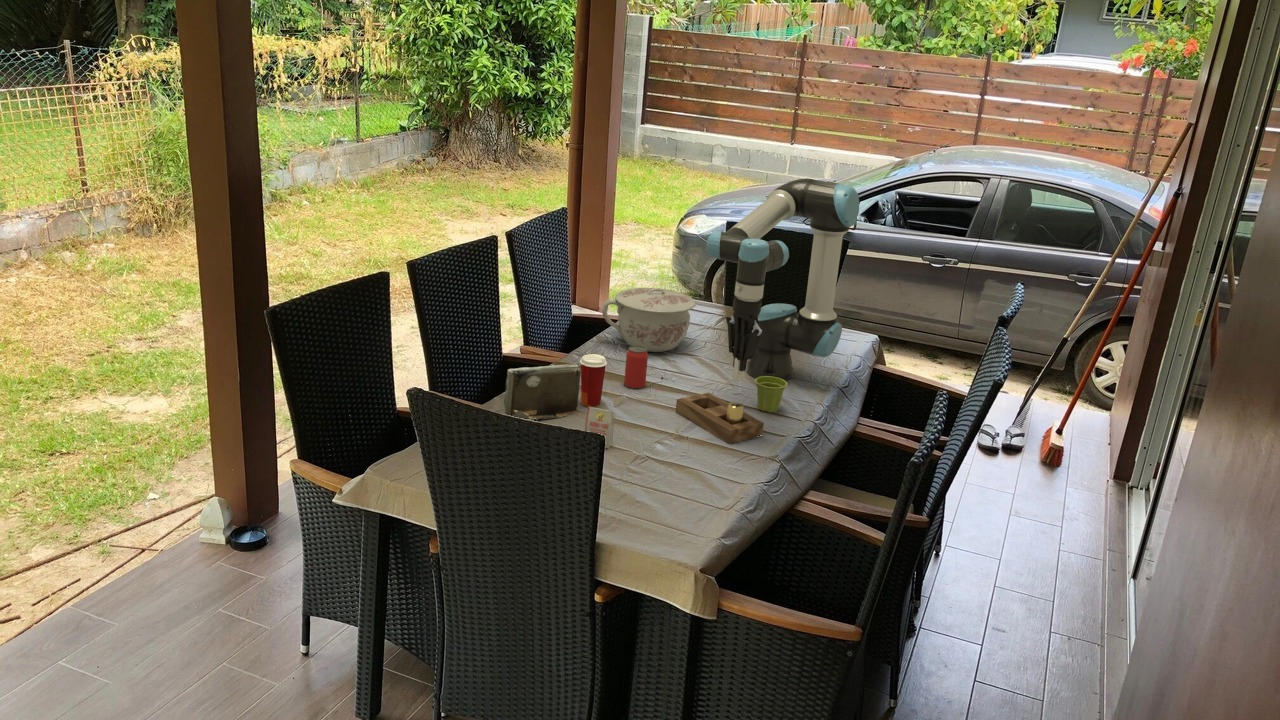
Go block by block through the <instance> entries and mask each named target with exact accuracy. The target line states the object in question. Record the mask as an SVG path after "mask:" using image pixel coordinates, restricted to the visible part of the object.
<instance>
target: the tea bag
mask: <svg viewBox="0 0 1280 720" xmlns="http://www.w3.org/2000/svg"><path fill="white" fill-rule="evenodd" d="M614 428H615V420H614V411H613V410H608V409H603V408H599V407H588V406H587V414H586V418H585V423H584V432H585V431H591V432H594V433H600V434H603V435H605V436H606V448H605V449H606V450H609V449H610V448H611V446H612V445H613V443H614V442H613V441H614ZM607 447H608V449H607Z"/></svg>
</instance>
